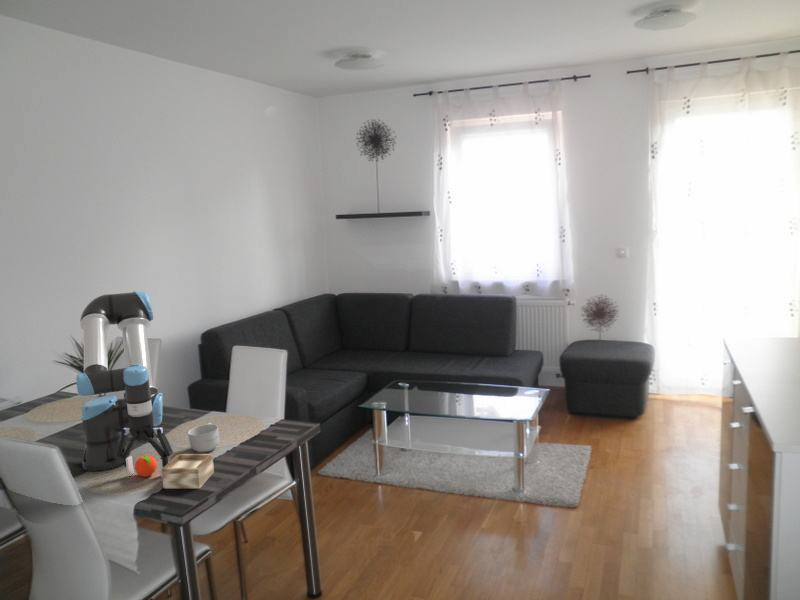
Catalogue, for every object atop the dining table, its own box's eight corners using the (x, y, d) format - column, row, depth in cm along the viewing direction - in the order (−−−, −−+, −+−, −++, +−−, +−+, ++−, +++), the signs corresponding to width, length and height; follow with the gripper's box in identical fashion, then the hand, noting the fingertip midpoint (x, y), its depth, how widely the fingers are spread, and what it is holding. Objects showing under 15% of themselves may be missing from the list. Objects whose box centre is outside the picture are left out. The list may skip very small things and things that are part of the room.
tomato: (162, 476, 211) (160, 456, 210) (142, 483, 206) (139, 462, 205) (152, 469, 217) (150, 449, 215) (132, 476, 212) (130, 456, 211)
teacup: (211, 455, 226) (209, 434, 225) (184, 454, 228) (181, 433, 227) (229, 441, 240) (227, 421, 238) (203, 440, 242) (201, 420, 240)
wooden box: (163, 488, 202) (161, 469, 201) (180, 472, 213) (178, 454, 212) (199, 488, 200) (197, 469, 199) (214, 472, 212) (212, 453, 211)
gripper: (100, 417, 205) (108, 480, 209) (169, 416, 203) (176, 480, 206) (112, 409, 213) (120, 470, 216) (179, 408, 210) (185, 470, 214)
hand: (147, 475), depth 211 cm, fingers open, 11 cm apart
